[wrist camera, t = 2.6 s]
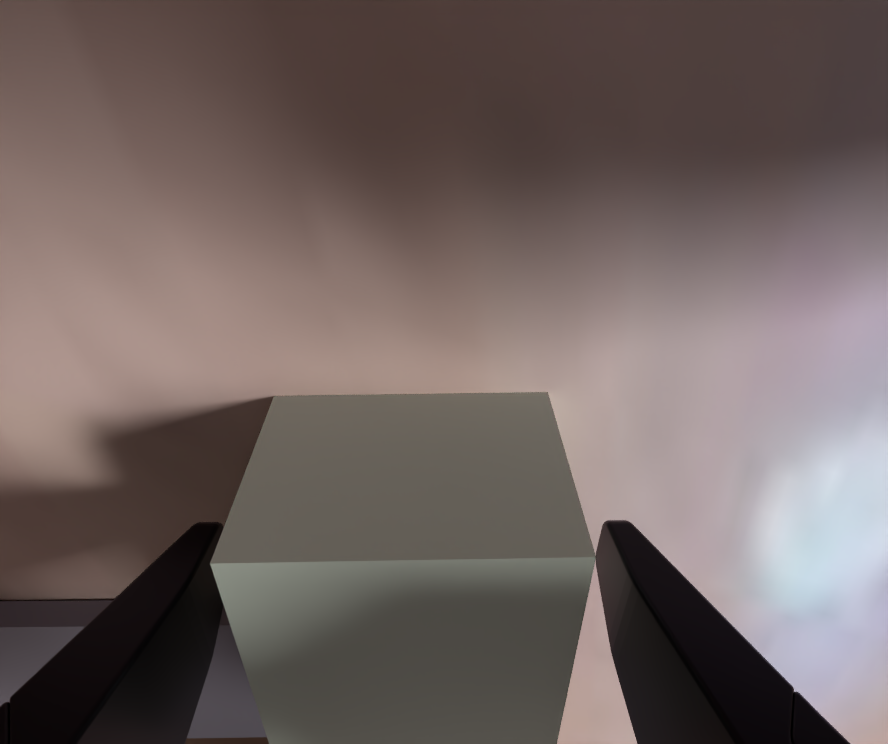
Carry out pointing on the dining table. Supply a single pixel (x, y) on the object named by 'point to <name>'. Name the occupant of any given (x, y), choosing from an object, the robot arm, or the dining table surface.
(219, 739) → the tower base
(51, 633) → the plate
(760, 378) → the dining table surface
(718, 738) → the robot arm
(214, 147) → the dining table surface
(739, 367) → the dining table surface
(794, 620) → the dining table surface
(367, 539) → the sage block
